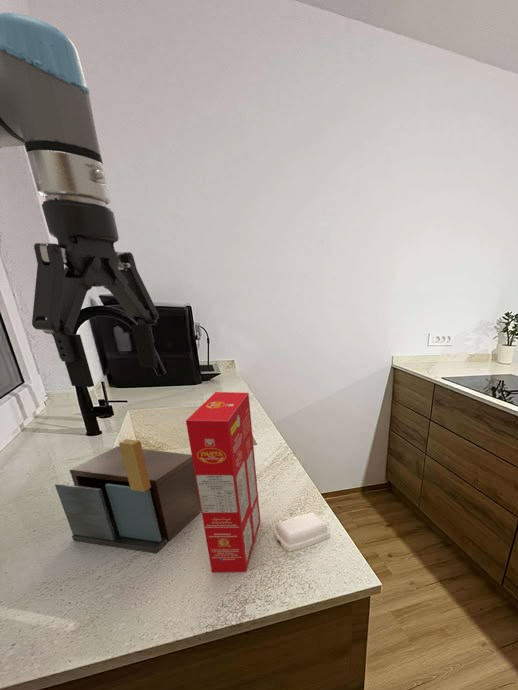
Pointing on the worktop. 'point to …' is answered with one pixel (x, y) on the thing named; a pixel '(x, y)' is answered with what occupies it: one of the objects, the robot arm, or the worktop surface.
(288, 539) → the soap
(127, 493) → the grey door panel
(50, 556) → the worktop surface
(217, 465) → the food packaging
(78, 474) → the cabinet
